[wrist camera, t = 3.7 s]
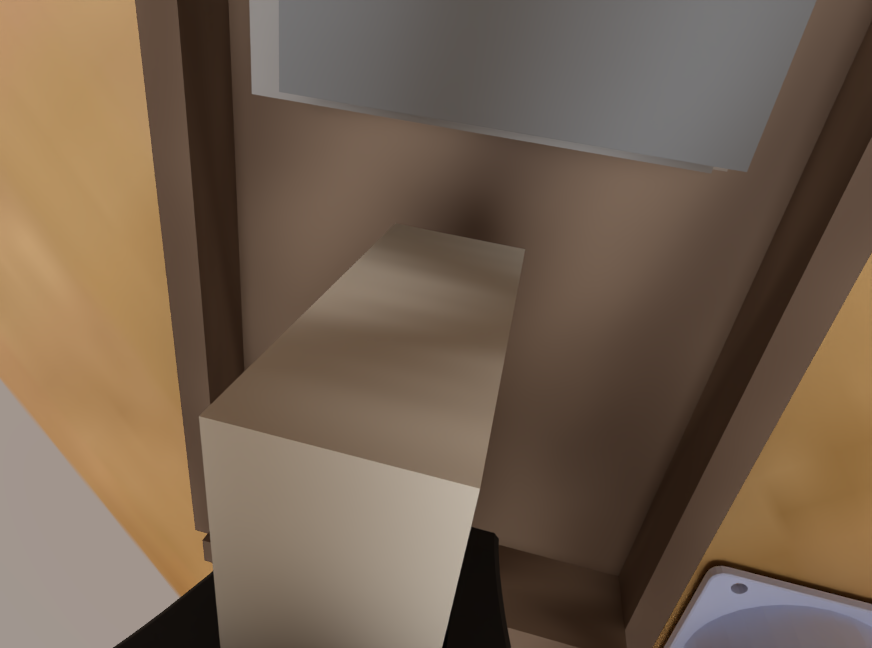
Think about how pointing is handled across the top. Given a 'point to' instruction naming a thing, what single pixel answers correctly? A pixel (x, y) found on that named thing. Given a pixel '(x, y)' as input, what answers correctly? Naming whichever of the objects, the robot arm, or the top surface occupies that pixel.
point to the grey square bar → (544, 69)
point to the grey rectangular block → (361, 450)
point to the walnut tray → (534, 294)
